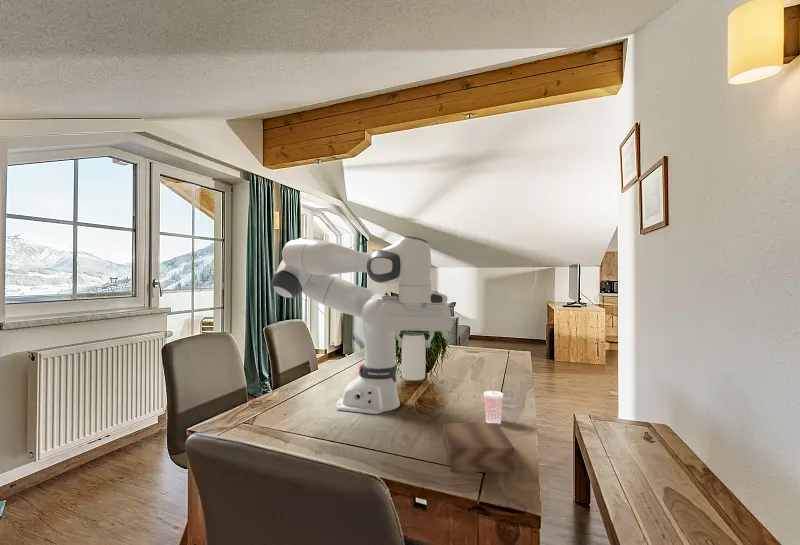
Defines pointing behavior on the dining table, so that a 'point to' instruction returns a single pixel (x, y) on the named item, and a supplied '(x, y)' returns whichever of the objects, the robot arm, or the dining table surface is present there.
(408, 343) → the can
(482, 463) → the riser block
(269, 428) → the dining table surface
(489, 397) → the beverage cup
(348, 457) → the dining table surface
